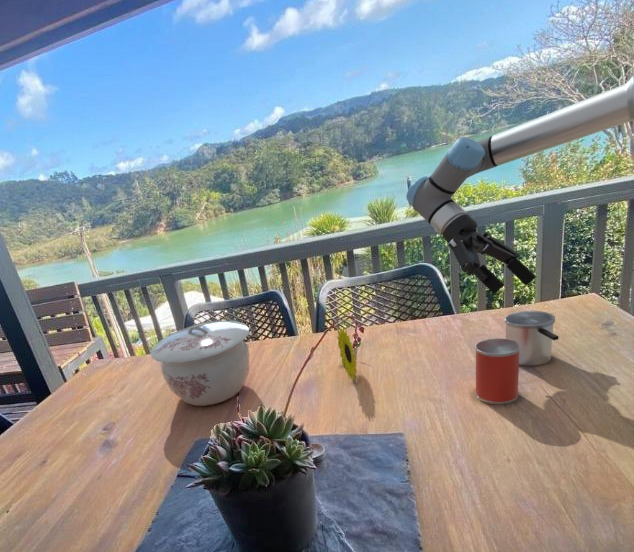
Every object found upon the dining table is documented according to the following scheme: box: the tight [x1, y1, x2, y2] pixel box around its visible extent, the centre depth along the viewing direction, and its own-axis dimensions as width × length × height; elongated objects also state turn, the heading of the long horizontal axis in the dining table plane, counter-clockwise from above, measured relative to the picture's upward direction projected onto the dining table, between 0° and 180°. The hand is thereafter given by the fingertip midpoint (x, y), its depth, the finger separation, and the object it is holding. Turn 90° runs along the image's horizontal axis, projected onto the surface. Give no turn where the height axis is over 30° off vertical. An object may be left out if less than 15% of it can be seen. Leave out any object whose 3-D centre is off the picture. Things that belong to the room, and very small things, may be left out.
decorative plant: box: [336, 326, 362, 382], centre depth 118 cm, size 15×6×30 cm
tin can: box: [474, 338, 520, 405], centre depth 90 cm, size 8×8×12 cm
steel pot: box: [504, 310, 559, 367], centre depth 99 cm, size 10×14×10 cm, turn 177°
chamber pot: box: [149, 320, 250, 407], centre depth 120 cm, size 28×28×21 cm
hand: (515, 285), depth 100 cm, fingers open, 13 cm apart
